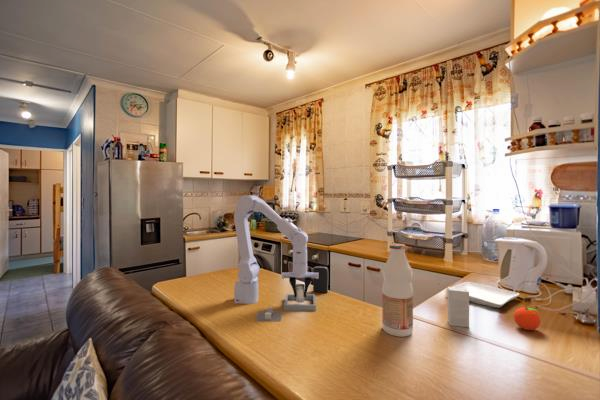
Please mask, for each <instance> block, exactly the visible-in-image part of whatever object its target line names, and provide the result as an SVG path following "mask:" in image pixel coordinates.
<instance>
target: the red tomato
mask: <svg viewBox="0 0 600 400" xmlns="http://www.w3.org/2000/svg"><path fill="white" fill-rule="evenodd" d="M539 311H540V310H539ZM539 311H538V310H537V309H534V308H531V307H524V306H523V307H519V308H517V309H516V310H515V311H514V313H513V320H514V321H515V323H516V325H517V326H518V327H520V328H521V329H524V330H527V331H534V330H537V329H538V328H539V327H540V325H541V317H540V316H539V314H538V313H540V312H539ZM540 314H541V316H542V317H543V314H542V313H540Z"/></svg>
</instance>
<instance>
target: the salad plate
mask: <svg viewBox="0 0 600 400" xmlns="http://www.w3.org/2000/svg"><path fill="white" fill-rule="evenodd" d="M452 287H456V288H466V289H467V290H468V292H469V302H471V303H474V304H477V305H481V306H482V305H483V306H484V307H485V306H486V307H490V308H497V309H498V308H501V307H503V306H504V305H505V304H507V303H508V302H510V301H513V300H514V299H516V298H518V297H519V296H520V293H519V292H515V291H510V290H507V289H504V288H503V289H502V288H498V287H494V286H490V285H486V284H481V283H476V282H472V281H465V282H462V283H458V284H456V285H454V286H452ZM445 291H446V292H447V288H446V289H445Z"/></svg>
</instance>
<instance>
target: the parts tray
mask: <svg viewBox="0 0 600 400" xmlns="http://www.w3.org/2000/svg"><path fill="white" fill-rule="evenodd" d="M284 299H285V300H284V303H283V311H287V312H288V311H291V312H292V311H293V312H294V311H298V312H301V311H304V312H305V311H307V312H309V311H315V312H317V304H316V303H317V302H316V294H314V293H313V294H312V293H311V294H310V293H309V294H308V293H306V297H304V301H308V300H309V301H313V302H312V303H313V304H288V302H289V301H290V300H291V301H294V300H295V301H296V297H294V293H293V294H292V293H291V294H285V298H284Z"/></svg>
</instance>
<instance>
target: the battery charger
mask: <svg viewBox="0 0 600 400" xmlns="http://www.w3.org/2000/svg"><path fill="white" fill-rule="evenodd" d="M312 272H315V273H319V279H316V278H312V284H313V285H312V287H313V288H312V291H313V292H315V293H323V294H324V293H328V292H329V287H328V286H329V268H328V267H327V266H323V265H320V266H319V265H317V266H314V267H313V270H312Z"/></svg>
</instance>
